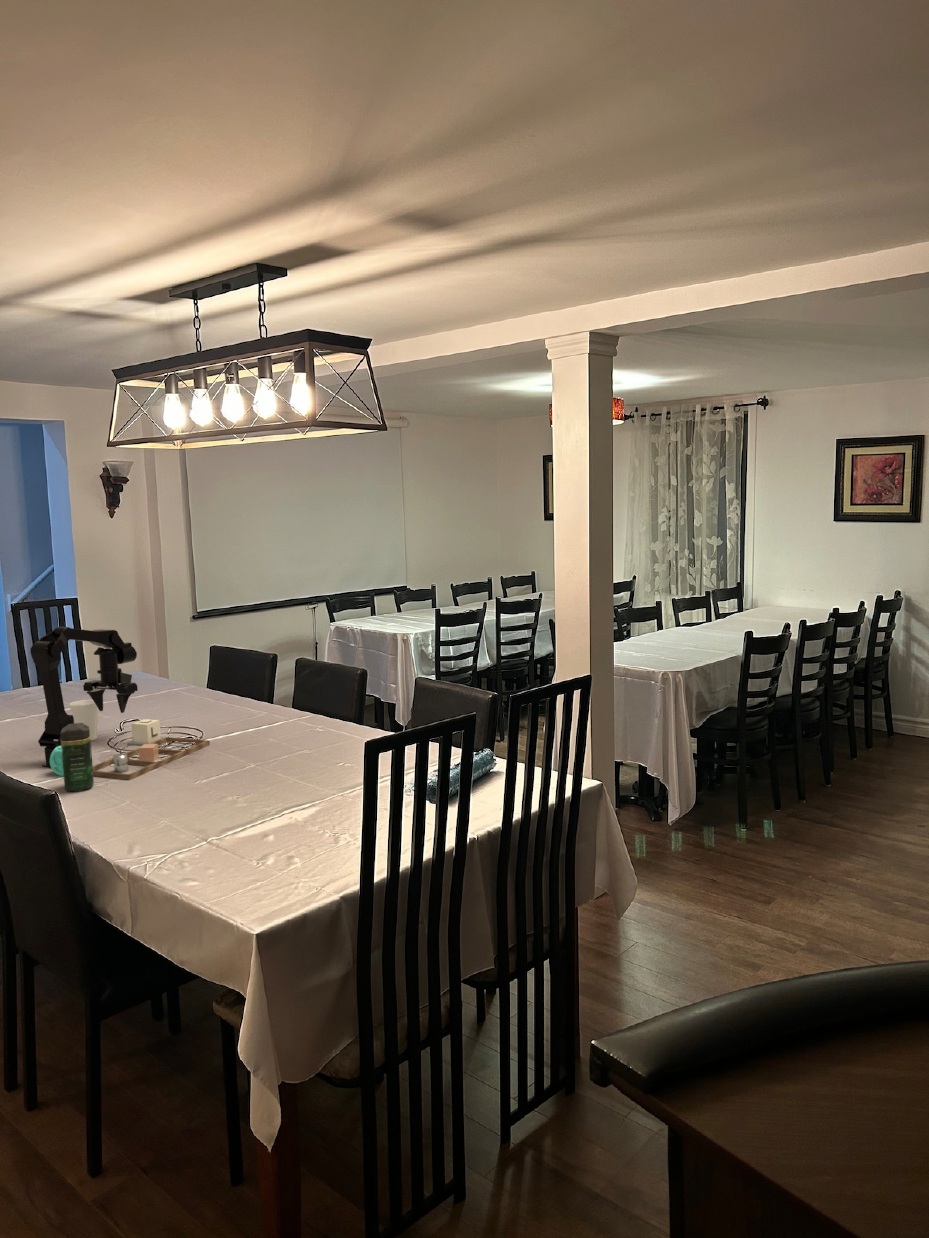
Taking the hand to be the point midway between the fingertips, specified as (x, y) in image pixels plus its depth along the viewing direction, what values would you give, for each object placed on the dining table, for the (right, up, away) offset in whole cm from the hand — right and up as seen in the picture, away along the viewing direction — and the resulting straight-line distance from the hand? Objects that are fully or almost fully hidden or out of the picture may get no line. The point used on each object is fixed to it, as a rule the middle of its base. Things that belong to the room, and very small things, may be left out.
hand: (111, 711), depth 306 cm
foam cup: (-13, -11, +10) cm, 20 cm away
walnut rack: (+19, -13, -17) cm, 29 cm away
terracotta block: (+19, -14, -17) cm, 29 cm away
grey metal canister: (+14, -15, -29) cm, 36 cm away
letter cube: (+10, -10, +4) cm, 15 cm away
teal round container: (-2, -16, -28) cm, 33 cm away
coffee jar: (+8, -18, -44) cm, 48 cm away
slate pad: (+10, -11, +4) cm, 16 cm away
